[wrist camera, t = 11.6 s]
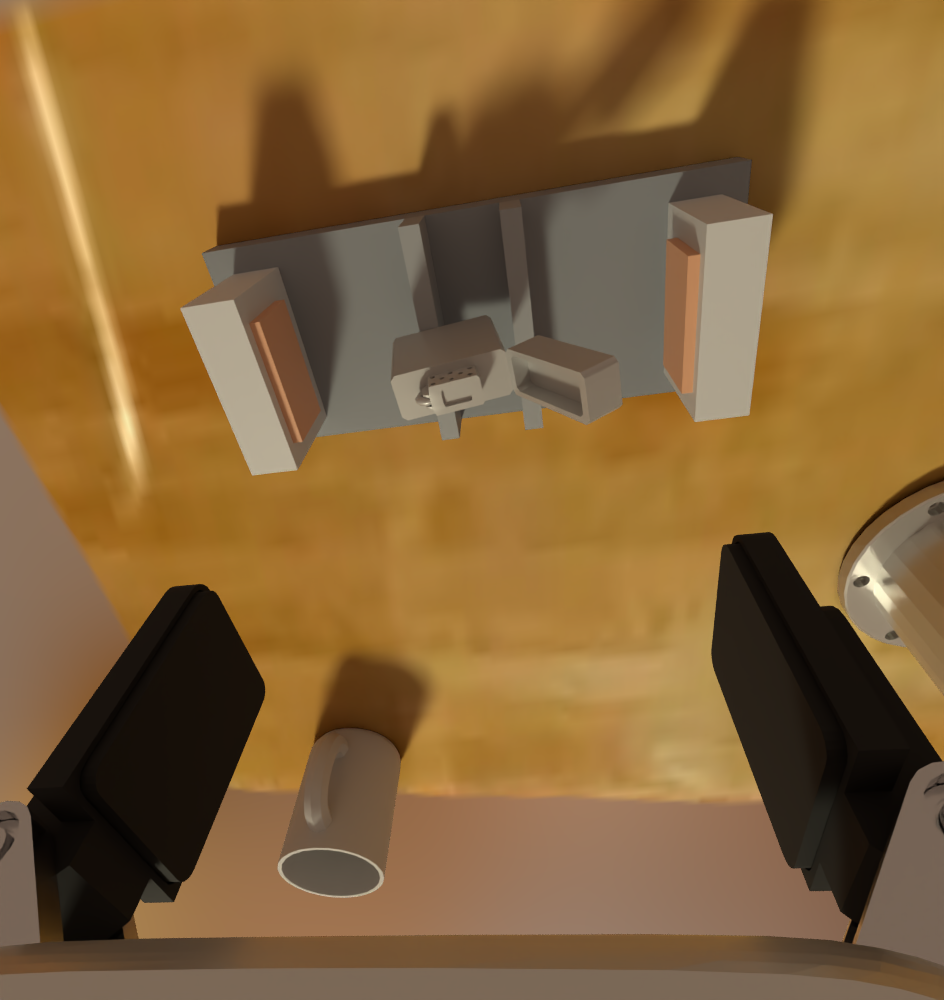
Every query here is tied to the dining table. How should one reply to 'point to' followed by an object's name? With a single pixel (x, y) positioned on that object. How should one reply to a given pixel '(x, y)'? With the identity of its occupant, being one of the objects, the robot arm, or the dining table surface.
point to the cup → (343, 815)
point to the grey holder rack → (489, 302)
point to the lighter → (500, 372)
